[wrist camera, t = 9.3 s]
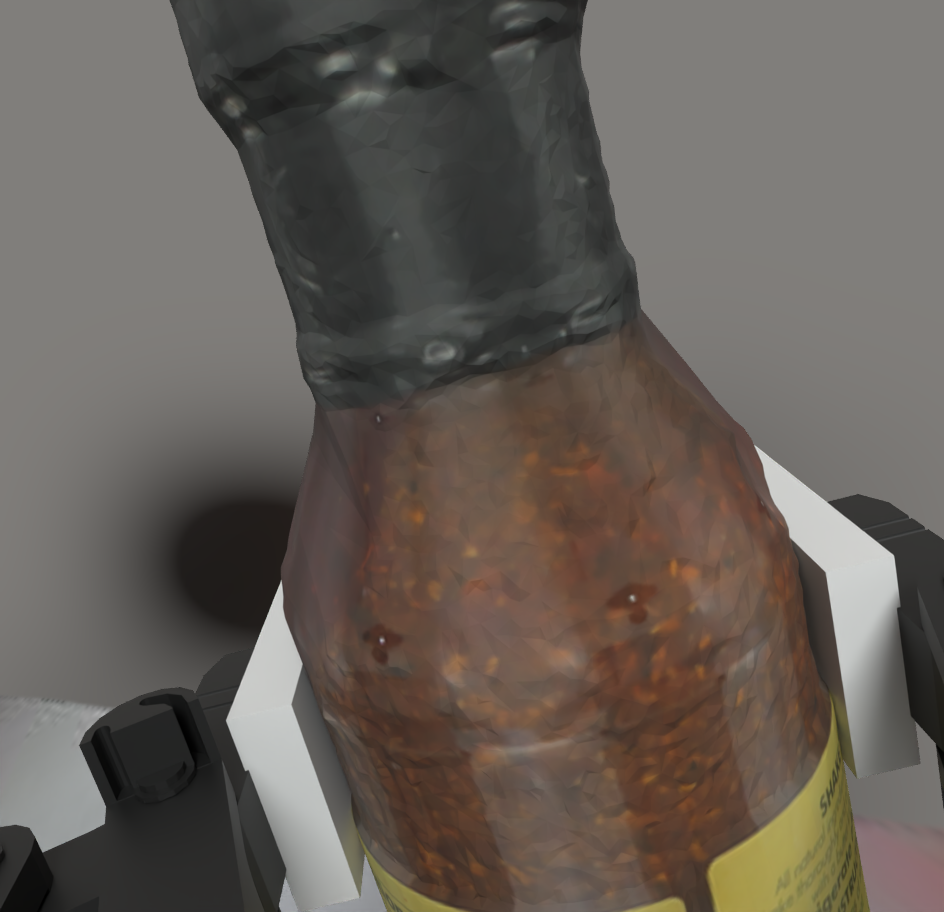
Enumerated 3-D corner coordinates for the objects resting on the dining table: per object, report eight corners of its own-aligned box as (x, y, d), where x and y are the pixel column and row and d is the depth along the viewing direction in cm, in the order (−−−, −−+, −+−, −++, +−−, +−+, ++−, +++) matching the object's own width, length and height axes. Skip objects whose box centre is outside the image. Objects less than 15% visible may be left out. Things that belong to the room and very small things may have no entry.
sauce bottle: (797, 1031, 18) (609, -59, 12) (1047, 1429, 12) (898, -328, 6) (483, 1149, 17) (135, 44, 12) (583, 1638, 11) (-34, -153, 6)
